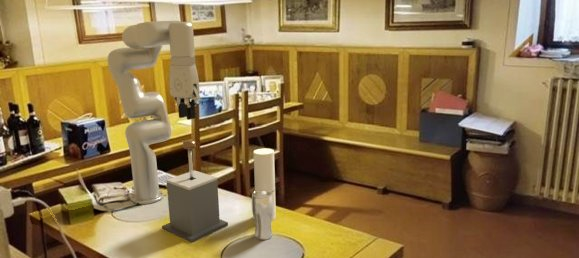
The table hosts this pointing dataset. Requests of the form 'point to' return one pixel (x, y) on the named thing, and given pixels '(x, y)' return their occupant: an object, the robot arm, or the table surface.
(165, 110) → the robot arm
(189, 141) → the plunger
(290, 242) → the table surface
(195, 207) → the block
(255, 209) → the beer glass
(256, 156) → the cylindrical container
